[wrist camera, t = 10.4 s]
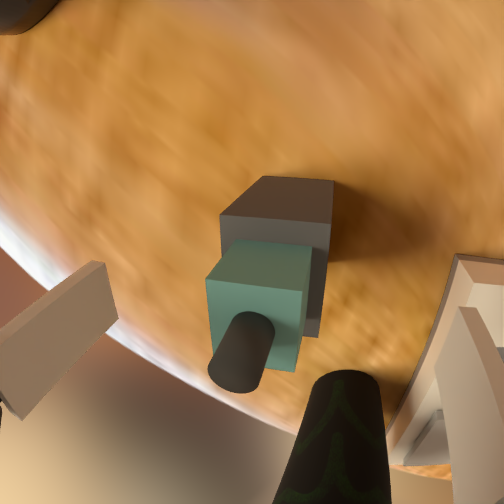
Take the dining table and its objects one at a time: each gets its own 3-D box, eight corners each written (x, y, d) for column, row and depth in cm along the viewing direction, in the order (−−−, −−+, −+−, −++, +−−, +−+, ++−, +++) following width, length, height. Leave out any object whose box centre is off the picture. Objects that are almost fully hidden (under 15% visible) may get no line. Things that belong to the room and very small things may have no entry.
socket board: (455, 253, 16) (473, 282, 13) (588, 271, 13) (610, 295, 10) (383, 434, 25) (382, 464, 21) (498, 429, 21) (504, 454, 18)
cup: (410, 388, 21) (416, 525, 11) (345, 428, 25) (329, 545, 15) (343, 343, 21) (326, 504, 11) (280, 392, 25) (241, 520, 14)
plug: (262, 175, 18) (147, 283, 7) (334, 180, 17) (322, 308, 6) (262, 255, 20) (179, 411, 9) (327, 262, 19) (300, 437, 8)
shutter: (436, 410, 17) (442, 467, 13) (543, 401, 15) (558, 445, 10) (403, 458, 20) (402, 505, 16) (503, 449, 18) (510, 489, 13)
